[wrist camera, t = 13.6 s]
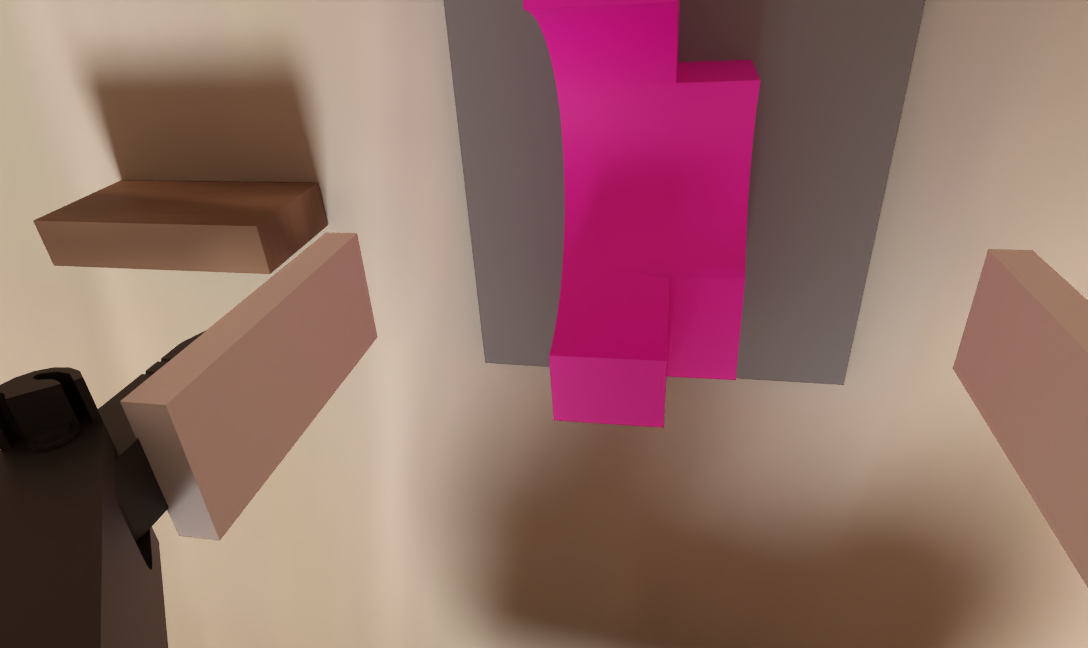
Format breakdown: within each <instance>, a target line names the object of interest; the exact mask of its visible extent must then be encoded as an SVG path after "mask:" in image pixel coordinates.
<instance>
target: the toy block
mask: <svg viewBox="0 0 1088 648" xmlns="http://www.w3.org/2000/svg"><path fill="white" fill-rule="evenodd" d="M523 10H525V11H528V12H530V13H531V14H532V15H533V16H534V18H535V19H536V20H537V22H538V24H539V26H540V28H541V30H542V32H543V35H544V37H545V40H546V44H547V47H548V50H549V54H550V58H551V62H552V67H553V71H554V76H555V82H556V88H557V95H558V102H559V110H560V119H561V129H562V142H563V158H564V185H565V222H564V250H563V266H562V278H561V289H560V298H559V306H558V313H557V320H556V325H555V331H554V336H553V341H552V346H551V350H550V354H549V361H550V375H551V388H552V402H553V415H554V420H557V421H572V422H587V423H602V424H617V425H633V426H648V427H663V428H664V412H665V393H666V376H668V377H688V378H707V379H727V380H736V372H737V361H738V351H739V340H740V330H741V319H742V309H743V298H744V287H745V261H746V231H747V211H748V195H749V181H750V168H751V157H752V146H753V136H754V127H755V118H756V110H757V102H758V95H759V88H760V81H761V80H760V78H759V75H758V73H757V71H756V68H755V66H754V64H753V61H752V60H727V61H700V62H678V45H679V14H680V0H523Z"/></svg>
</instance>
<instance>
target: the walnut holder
mask: <svg viewBox="0 0 1088 648" xmlns="http://www.w3.org/2000/svg"><path fill="white" fill-rule="evenodd" d="M34 223H35V225H36V228H37V230H38V232H39V234H40V236H41V238H42V241H43V243H44V245H45V247H46V249H47V251H48V253H49V256H50V258H51V260H52V262H53V264H54V265H55V266H80V267H106V268H132V269H157V270H183V271H209V272H234V273H260V274H271V273H272V272H273V271H274V270H275V269H276V268H278V267H279V266H280V265H281V264H282V263H284V262H285V261H286V260H287V259H288V258H289V257H291V256H292V255H293V254H294V253H295V252H297V251H298V250H299V249H300V248H301V247H303V246H304V245H305V244H306V243H307V242H308V241H310V240H311V239H312V238H313V237H314V236H316V235H317V234H318V233H319V232H320V231H321V230H323V229H324V228H325V227H326V226H327V225H328V224H327V220H326V215H325V211H324V206H323V202H322V198H321V193H320V189H319V185H318V183H304V182H217V181H129V180H121V181H119V182H117V183H114V184H112V185H110V186H108V187H106V188H104V189H101V190H99V191H97V192H95V193H93V194H91V195H88V196H86V197H84V198H82V199H80V200H77V201H75V202H73V203H71V204H69V205H67V206H64V207H62V208H60V209H58V210H56V211H54V212H51V213H49V214H47V215H45V216H43V217H40V218H38V219H36V220H34Z"/></svg>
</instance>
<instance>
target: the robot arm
mask: <svg viewBox="0 0 1088 648" xmlns="http://www.w3.org/2000/svg"><path fill="white" fill-rule="evenodd" d="M376 338H377V333H376V328H375V322H374V317H373V312H372V307H371V302H370V297H369V292H368V287H367V282H366V277H365V272H364V266H363V261H362V256H361V251H360V246H359V241H358V236H357V233H325V234H324V235H323V236H321V237H320V238H319V239H318V240H317V241H315V242H314V243H313V244H312V245H310V246H309V247H308V248H307V249H306V250H304V251H303V252H302V253H301V254H299V255H298V256H297V257H296V258H295V259H293V260H292V261H291V262H290V263H288V264H287V265H286V266H285V267H284V268H282V269H281V270H280V271H279V272H277V273H276V274H275V275H274V276H273V277H271V278H270V279H269V280H268V281H266V282H265V283H264V284H263V285H262V286H260V287H259V288H258V289H257V290H255V291H254V292H253V293H252V294H251V295H249V296H248V297H247V298H246V299H244V300H243V301H242V302H241V303H240V304H238V305H237V306H236V307H235V308H233V309H232V310H231V311H230V312H229V313H227V314H226V315H225V316H224V317H222V318H221V319H220V320H219V321H218V322H216V323H215V324H214V325H213V326H211V327H210V328H209V329H208V330H206V331H204V332H202V333H200V334H198V335H196V336H194V337H192V338H190V339H188V340H186V341H184V342H182V343H180V344H179V345H178V346H176V347H175V348H174V349H173V350H171V351H170V352H169V353H168V354H166V355H165V356H164V357H163V358H161V362H156V363H155V364H154V365H153V366H151V367H150V368H149V369H148V370H146V374H141V375H140V376H139V377H138V378H136V379H135V380H134V381H133V382H131V383H130V384H129V385H128V386H126V387H125V388H124V389H123V390H121V391H120V392H119V393H118V394H116V395H115V396H114V397H113V398H111V399H110V400H109V401H108V402H106V403H105V404H104V405H103V406H101V407H100V408H99V409H97V407H96V405H95V403H94V400H93V398H92V396H91V394H90V392H89V390H88V387H87V385H86V383H85V381H84V379H83V377H82V375H81V373H80V371H78V370H75V369H72V368H49V369H44V370H38V371H34V372H31V373H28V374H25V375H22V376H19V377H16V378H14V379H12V380H10V381H7V382H5V383H3V384H1V385H0V648H168V641H167V629H166V618H165V607H164V595H163V584H162V573H161V561H160V550H159V542H158V539H157V537H156V535H155V533H154V531H153V528H152V525H153V524H154V523H155V522H156V521H157V520H158V519H159V518H160V517H161V516H162V514H163V513H164V512H165V511H166V510H168V512H169V515H170V517H171V519H172V522H173V524H174V526H175V528H176V531H177V533H178V535H179V536H185V537H194V538H202V539H211V540H219V541H220V540H221V538H222V537H223V536H224V534H225V533H226V532H227V531H228V529H229V528H230V527H231V525H232V524H233V523H234V522H235V520H236V519H237V518H238V516H239V515H240V514H241V512H242V511H243V510H244V509H245V507H246V506H247V505H248V503H249V502H250V501H251V500H252V498H253V497H254V496H255V494H256V493H257V492H258V491H259V489H260V488H261V487H262V485H263V484H264V483H265V481H266V480H267V479H268V478H269V476H270V475H271V474H272V472H273V471H274V470H275V469H276V467H277V466H278V465H279V463H280V462H281V461H282V460H283V458H284V457H285V456H286V454H287V453H288V452H289V451H290V449H291V448H292V447H293V445H294V444H295V443H296V441H297V440H298V439H299V438H300V436H301V435H302V434H303V432H304V431H305V430H306V429H307V427H308V426H309V425H310V423H311V422H312V421H313V420H314V418H315V417H316V416H317V414H318V413H319V412H320V410H321V409H322V408H323V407H324V405H325V404H326V403H327V401H328V400H329V399H330V398H331V396H332V395H333V394H334V392H335V391H336V390H337V389H338V387H339V386H340V385H341V383H342V382H343V381H344V380H345V378H346V377H347V376H348V374H349V373H350V372H351V370H352V369H353V368H354V367H355V365H356V364H357V363H358V361H359V360H360V359H361V358H362V356H363V355H364V354H365V352H366V351H367V350H368V349H369V347H370V346H371V345H372V343H373V342H374V341H375V339H376ZM953 369H954V371H955V373H956V374H957V376H958V378H959V379H960V381H961V382H962V384H963V386H964V387H965V389H966V391H967V392H968V394H969V395H970V397H971V399H972V400H973V402H974V404H975V405H976V407H977V408H978V410H979V412H980V413H981V415H982V417H983V418H984V420H985V421H986V423H987V425H988V426H989V428H990V429H991V431H992V433H993V434H994V436H995V438H996V439H997V441H998V442H999V444H1000V446H1001V447H1002V449H1003V451H1004V452H1005V454H1006V455H1007V457H1008V459H1009V460H1010V462H1011V464H1012V465H1013V467H1014V468H1015V470H1016V472H1017V473H1018V475H1019V477H1020V478H1021V480H1022V481H1023V483H1024V485H1025V486H1026V488H1027V490H1028V491H1029V493H1030V494H1031V496H1032V498H1033V499H1034V501H1035V503H1036V504H1037V506H1038V507H1039V509H1040V511H1041V512H1042V514H1043V516H1044V517H1045V519H1046V520H1047V522H1048V524H1049V525H1050V527H1051V529H1052V530H1053V532H1054V533H1055V535H1056V537H1057V538H1058V540H1059V541H1060V543H1061V545H1062V546H1063V548H1064V550H1065V551H1066V553H1067V554H1068V556H1069V558H1070V559H1071V561H1072V563H1073V564H1074V566H1075V567H1076V569H1077V571H1078V572H1079V574H1080V576H1081V577H1082V579H1083V580H1084V582H1085V584H1086V585H1087V587H1088V300H1087V299H1085V298H1084V297H1083V296H1082V295H1081V294H1080V293H1079V292H1078V291H1077V290H1076V289H1074V288H1073V287H1072V286H1071V285H1070V284H1069V283H1068V282H1067V281H1066V280H1065V279H1063V278H1062V277H1061V276H1060V275H1059V274H1058V273H1057V272H1056V271H1055V270H1054V269H1052V268H1051V267H1050V266H1049V265H1048V264H1047V263H1046V262H1045V261H1044V260H1042V259H1041V258H1040V257H1039V256H1038V255H1037V254H1036V253H1035V252H1034V251H1033V250H999V249H988V252H987V256H986V259H985V262H984V266H983V269H982V272H981V276H980V279H979V282H978V286H977V289H976V293H975V296H974V299H973V303H972V306H971V309H970V313H969V316H968V319H967V323H966V326H965V330H964V333H963V336H962V340H961V343H960V346H959V350H958V353H957V356H956V360H955V363H954V367H953Z"/></svg>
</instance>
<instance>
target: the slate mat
mask: <svg viewBox="0 0 1088 648" xmlns="http://www.w3.org/2000/svg"><path fill="white" fill-rule="evenodd" d="M924 5H925V0H680V14H679V45H678V62H700V61H727V60H752V61H753V64H754V66H755V68H756V71H757V73H758V75H759V78H760V80H761V81H760V88H759V95H758V102H757V110H756V118H755V127H754V136H753V146H752V157H751V168H750V181H749V195H748V211H747V231H746V261H745V287H744V298H743V309H742V319H741V330H740V340H739V351H738V361H737V372H736V378H740V379H757V380H773V381H789V382H805V383H821V384H838V385H844V381H845V376H846V371H847V366H848V362H849V357H850V352H851V348H852V343H853V338H854V334H855V329H856V324H857V319H858V315H859V310H860V305H861V301H862V296H863V291H864V287H865V282H866V277H867V272H868V268H869V263H870V258H871V254H872V249H873V244H874V240H875V235H876V230H877V226H878V221H879V216H880V211H881V207H882V202H883V197H884V193H885V188H886V183H887V179H888V174H889V169H890V164H891V160H892V155H893V150H894V146H895V141H896V136H897V132H898V127H899V122H900V117H901V113H902V108H903V103H904V99H905V94H906V89H907V85H908V80H909V75H910V71H911V66H912V61H913V56H914V52H915V47H916V42H917V38H918V33H919V28H920V24H921V19H922V14H923V9H924ZM444 7H445V16H446V24H447V33H448V42H449V50H450V59H451V68H452V76H453V85H454V94H455V103H456V111H457V120H458V129H459V137H460V146H461V155H462V163H463V172H464V181H465V189H466V198H467V207H468V216H469V224H470V233H471V242H472V250H473V259H474V268H475V276H476V285H477V294H478V302H479V311H480V320H481V329H482V337H483V346H484V355H485V363H497V364H513V365H530V366H546V367H550V361H549V354H550V350H551V346H552V341H553V336H554V331H555V325H556V320H557V313H558V306H559V298H560V289H561V278H562V266H563V250H564V222H565V185H564V158H563V142H562V129H561V119H560V110H559V102H558V95H557V88H556V82H555V76H554V71H553V67H552V62H551V58H550V54H549V50H548V47H547V44H546V40H545V37H544V35H543V32H542V30H541V28H540V26H539V24H538V22H537V20H536V19H535V18H534V16H533V15H532V14H531V13H530V12H528V11H525V10H523V0H444Z"/></svg>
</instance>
